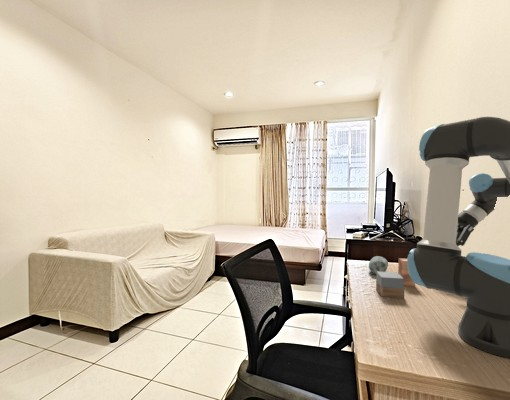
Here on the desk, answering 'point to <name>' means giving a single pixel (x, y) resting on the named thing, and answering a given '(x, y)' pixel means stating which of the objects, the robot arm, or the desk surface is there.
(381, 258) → the spool
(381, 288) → the bottom slab
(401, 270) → the tall block
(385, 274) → the top slab
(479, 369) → the desk surface
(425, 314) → the desk surface
